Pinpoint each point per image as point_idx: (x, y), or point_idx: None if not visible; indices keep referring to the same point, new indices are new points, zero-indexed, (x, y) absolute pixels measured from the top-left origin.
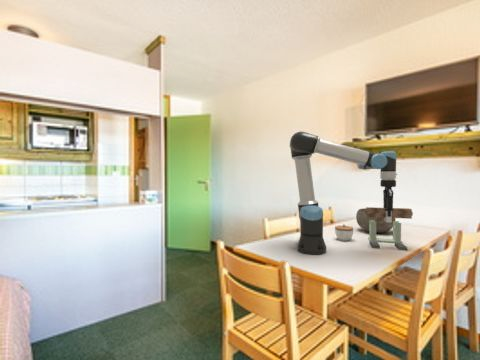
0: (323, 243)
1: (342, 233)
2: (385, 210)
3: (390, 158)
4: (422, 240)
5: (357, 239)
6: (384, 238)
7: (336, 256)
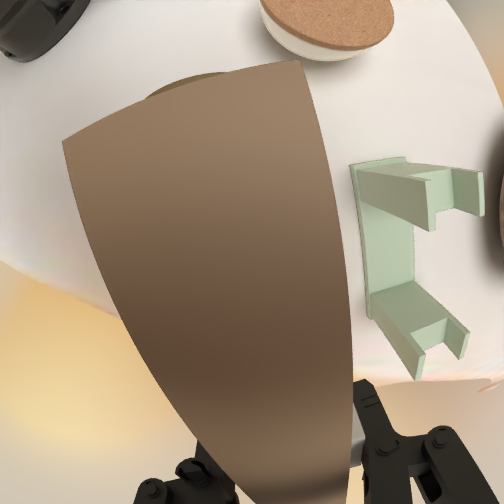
0: (10, 47)
1: (259, 3)
2: (186, 460)
3: None
4: (431, 362)
5: (361, 97)
6: (413, 242)
7: (16, 107)
